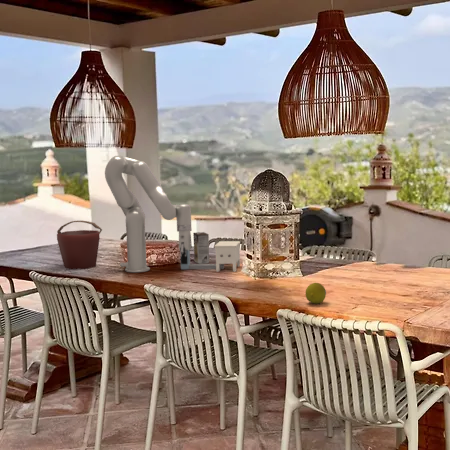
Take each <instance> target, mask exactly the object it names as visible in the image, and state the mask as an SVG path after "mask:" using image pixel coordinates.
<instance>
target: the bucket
mask: <svg viewBox="0 0 450 450" xmlns="http://www.w3.org/2000/svg"><path fill="white" fill-rule="evenodd" d="M72 223H84V224H87V225H91V226H93V228H95V229H98V230H93V229H92V230H90V229H87V230H86V229H84V230H83V229H79V230H70V231H68V230H67V231H62V230H63V229H64V228H65V227H67V226H68V225H70V224H72ZM61 231H62V232H61ZM102 231H103V229H102V227H100V226H99V225H98V224H97V223H96V222H93V221H90V220H89V221H88V220H72V221H70V222H67V223H65V224H63V225H61V226H60V227H59V228H58V230H57V231H56V232H57V233H56V240H57V245H58V248H59V252H60V255H61V260H62V264H63V266H64V267H63V268H64V269H67V270H86V269H91V268H96V267H97V260H98V252H99V246H100V245H99V244H100V236H101V233H102Z"/></svg>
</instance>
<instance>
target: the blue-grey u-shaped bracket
mask: <svg viewBox="0 0 450 450" xmlns="http://www.w3.org/2000/svg"><path fill="white" fill-rule="evenodd" d="M180 249H181V248H180ZM184 250H185V249H184ZM190 250H191V249H190ZM190 250H188V251H187V255H186V256H187V264H181V263H180V269H181V270H216V263H215V264H213V263H205V264H198V263H194V264H193V263H191V251H190ZM179 251H180V250H179ZM180 253H181V251H180ZM219 266H220V270H224V269H225V264H219Z"/></svg>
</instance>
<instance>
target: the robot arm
mask: <svg viewBox="0 0 450 450" xmlns="http://www.w3.org/2000/svg"><path fill="white" fill-rule="evenodd" d="M123 174H125V175H129V176H134V177H135V179H136V180H137V182H138V183H139V184H140V186H141V187H142V190H144V192H145V194H146V195H147V197H148V198H149V199H150V200H151V202H152V204H153V205H154V206H155V208H156V209H157V210H158V213H159V214H160V216H161V217H162V218H163V219H164V220H167V221H171V220H173V219H174V218H176V232H177V233H178V250H179V251H181V252H180V265H181V264H187V256H186V255H187V251H188V250H191V249H192V246H193V245H192V234H191V232H192V212H191V211H192V208H191V207H192V206H191V205H190V204H186V203H185V204H184V203H181V204H172V202H171V201H170V199H169V197H168V196H167V194H166V193H165V191H164V189H163V187H162V185H161V183H160V182H159V180H158V179H157V177H156V176H155V174H154V173H153V171H152V169H151V168H150V167H149V164H148V163H146V162H145V161H143V160H138V159H134V158H131V157H130V158H129V157H127V156H123V155H115V156H112V157H111V158H110V159H109V160H108V162H107V164H106V166H105V169H104V178H105V181H106V183H107V185H108V187H109V189H110V191H111V194H112V195H113V198H114V200H115V202H116V204H117V206H118V208H120V209H121V210H122V213H123V214H124V217H125V230H126V231H125V232H126V251H127V261H126V262H120V263H119V266H120V267H121V268H122V267H123V268H124V267H125V269H124V271H125V272H127V273H145V272H148V271H150V269H151V268H150V267H149V266H148V265H147V244H146V243H147V241H146V240H147V239H146V214H145V211H144V210H143V208H142V206H141V205H140V203H139V201H138V199H137V196H136V195H135V193H134V192H133V191H131V190H130V188H129V187H128V185H127V183H126V181H125V179H124V176H123ZM180 248H181V249H180ZM184 249H185V250H184Z"/></svg>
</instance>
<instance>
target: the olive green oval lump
mask: <svg viewBox="0 0 450 450" xmlns="http://www.w3.org/2000/svg"><path fill="white" fill-rule="evenodd" d="M326 295H327V290H326V288H325V287H324V285H323V284H321V283H319V282H313V283H310V284H309V285H307V287H306V289H305V298H306V299H307V301H308V302H309V303H311V304H314V305H315V304H316V305H318V304H321V303H322V302H324V301H325V299H326V297H327V296H326Z"/></svg>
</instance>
